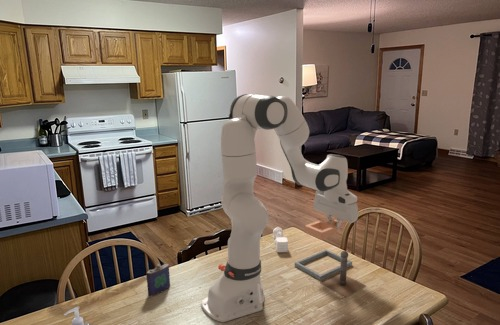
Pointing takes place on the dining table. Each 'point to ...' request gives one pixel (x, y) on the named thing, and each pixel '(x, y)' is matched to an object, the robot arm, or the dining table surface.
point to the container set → (280, 240)
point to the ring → (327, 229)
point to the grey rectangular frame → (317, 255)
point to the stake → (343, 280)
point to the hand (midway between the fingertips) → (334, 226)
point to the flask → (158, 279)
